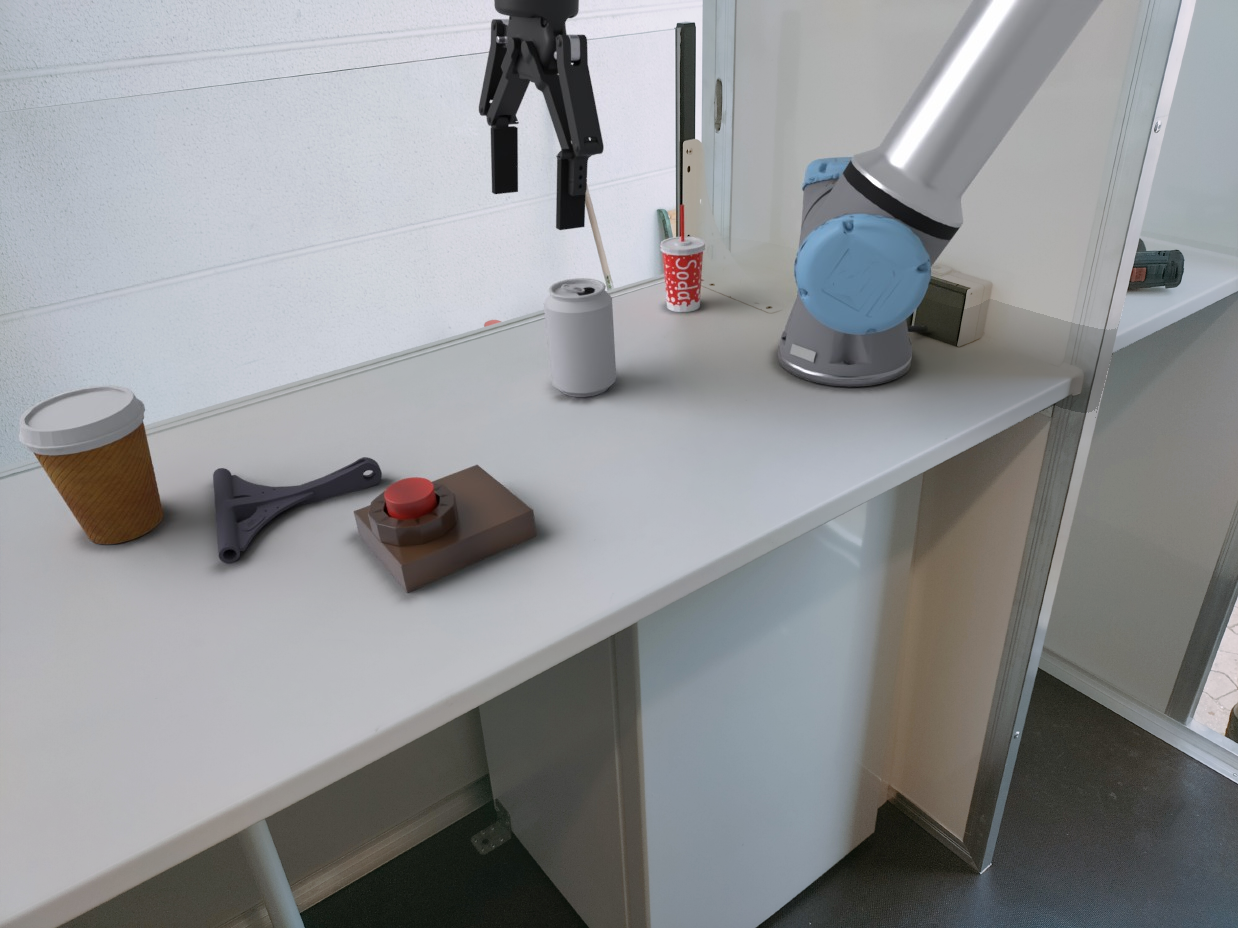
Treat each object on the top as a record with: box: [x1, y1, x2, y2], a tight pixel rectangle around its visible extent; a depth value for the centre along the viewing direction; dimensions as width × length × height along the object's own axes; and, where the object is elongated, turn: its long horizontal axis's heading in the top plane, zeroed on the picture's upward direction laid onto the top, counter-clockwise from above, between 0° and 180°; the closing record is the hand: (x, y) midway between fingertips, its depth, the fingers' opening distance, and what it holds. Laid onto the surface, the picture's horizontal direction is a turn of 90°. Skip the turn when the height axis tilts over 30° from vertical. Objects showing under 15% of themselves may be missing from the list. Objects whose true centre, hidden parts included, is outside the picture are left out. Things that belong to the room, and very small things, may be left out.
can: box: [543, 277, 617, 398], centre depth 95 cm, size 8×8×12 cm
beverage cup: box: [659, 204, 706, 313], centre depth 116 cm, size 6×6×14 cm
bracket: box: [212, 456, 383, 564], centre depth 79 cm, size 14×15×3 cm
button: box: [384, 476, 437, 520], centre depth 70 cm, size 4×4×2 cm
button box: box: [353, 464, 537, 594], centre depth 72 cm, size 12×10×4 cm
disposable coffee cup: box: [18, 384, 164, 545], centre depth 75 cm, size 10×10×12 cm
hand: (535, 209), depth 86 cm, fingers open, 13 cm apart
